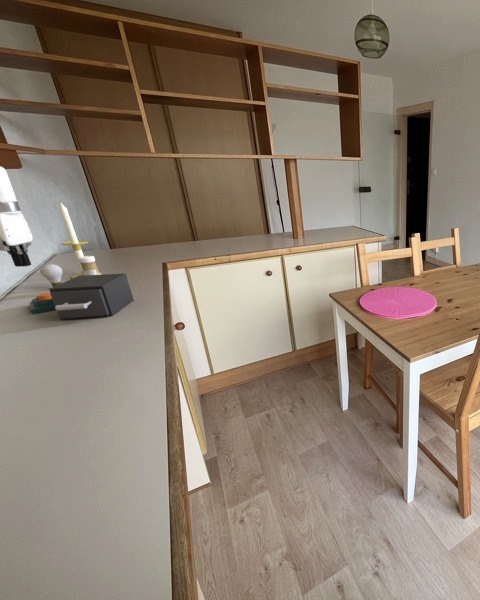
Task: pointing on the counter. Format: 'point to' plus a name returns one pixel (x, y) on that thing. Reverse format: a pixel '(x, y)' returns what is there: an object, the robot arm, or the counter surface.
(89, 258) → the sprinkles bottle
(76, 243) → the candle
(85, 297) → the dark grey drawer
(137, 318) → the counter surface
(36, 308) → the block
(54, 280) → the light bulb
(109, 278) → the dark grey drawer box
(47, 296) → the button
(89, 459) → the counter surface
